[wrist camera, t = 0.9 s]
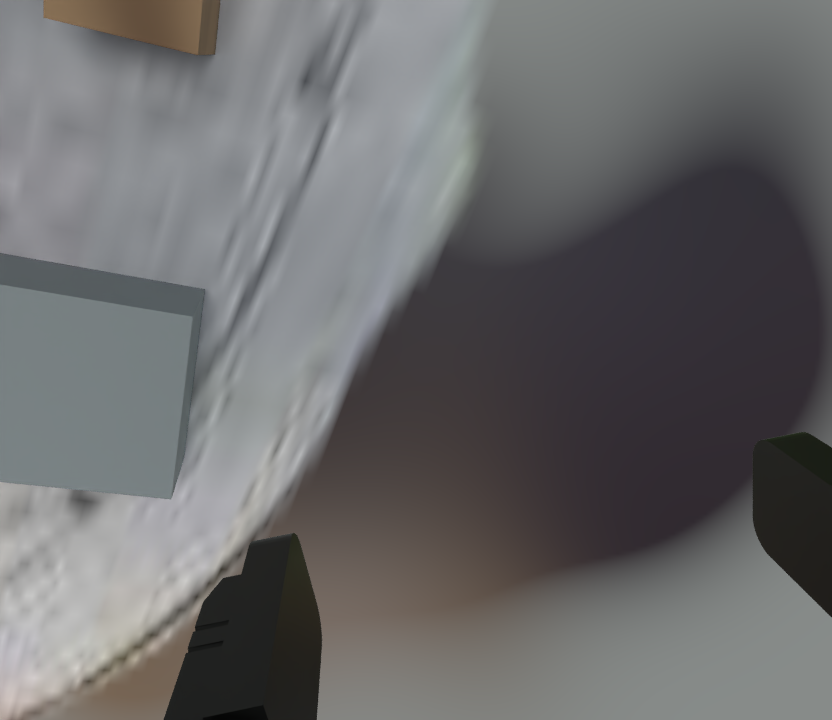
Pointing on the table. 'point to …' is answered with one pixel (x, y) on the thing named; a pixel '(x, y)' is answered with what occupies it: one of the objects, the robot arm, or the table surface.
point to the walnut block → (146, 20)
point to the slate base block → (94, 377)
